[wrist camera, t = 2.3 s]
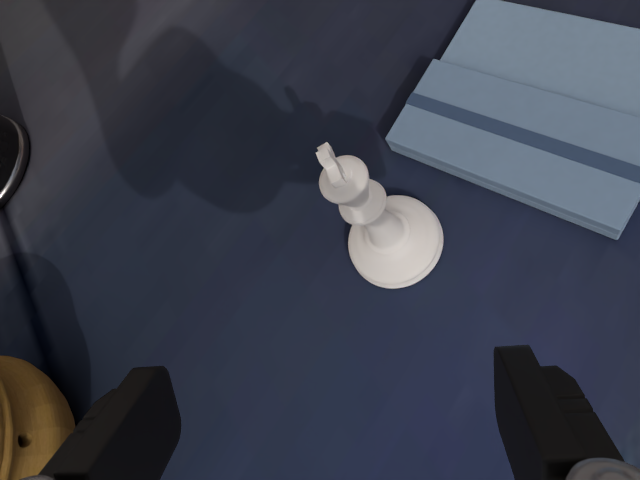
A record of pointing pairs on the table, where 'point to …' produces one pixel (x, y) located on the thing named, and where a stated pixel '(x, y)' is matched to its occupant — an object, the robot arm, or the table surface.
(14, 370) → the pot
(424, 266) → the chess piece
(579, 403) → the robot arm
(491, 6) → the grooved slab
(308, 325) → the table surface
